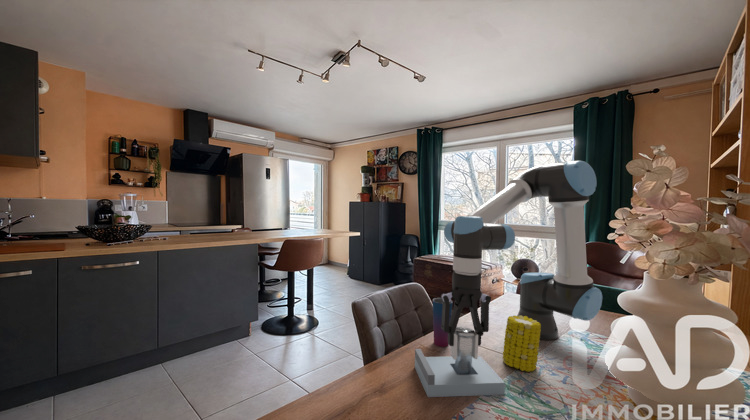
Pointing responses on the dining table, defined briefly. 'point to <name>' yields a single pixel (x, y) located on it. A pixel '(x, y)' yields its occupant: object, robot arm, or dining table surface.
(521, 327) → the food
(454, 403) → the dining table surface
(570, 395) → the dining table surface
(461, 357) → the silver metal cylinder
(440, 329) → the cup
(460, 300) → the robot arm
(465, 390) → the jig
